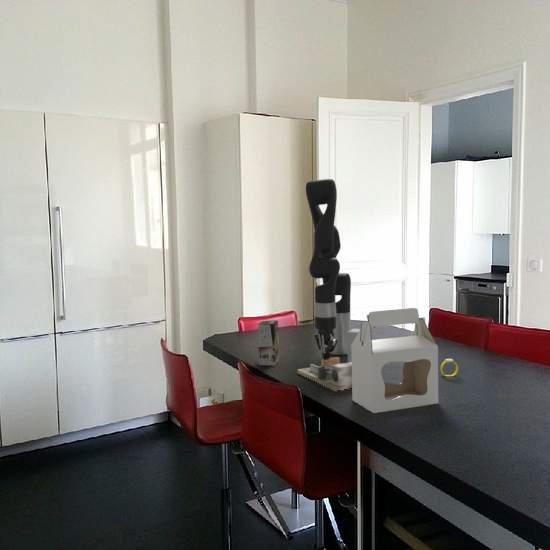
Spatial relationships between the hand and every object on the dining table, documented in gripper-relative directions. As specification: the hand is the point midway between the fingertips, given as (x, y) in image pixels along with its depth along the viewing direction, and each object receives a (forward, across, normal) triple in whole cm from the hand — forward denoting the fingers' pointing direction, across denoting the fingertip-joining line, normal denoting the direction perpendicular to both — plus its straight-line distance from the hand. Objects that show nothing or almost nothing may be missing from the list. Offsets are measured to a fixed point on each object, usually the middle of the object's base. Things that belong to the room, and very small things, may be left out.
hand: (326, 363), depth 203 cm
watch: (+5, -22, -36) cm, 43 cm away
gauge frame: (+4, -5, 0) cm, 7 cm away
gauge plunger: (+3, -5, +2) cm, 6 cm away
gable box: (+4, -36, -4) cm, 36 cm away
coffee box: (+5, +28, +10) cm, 30 cm away
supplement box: (+5, +10, -20) cm, 23 cm away
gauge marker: (+3, -8, +6) cm, 10 cm away
